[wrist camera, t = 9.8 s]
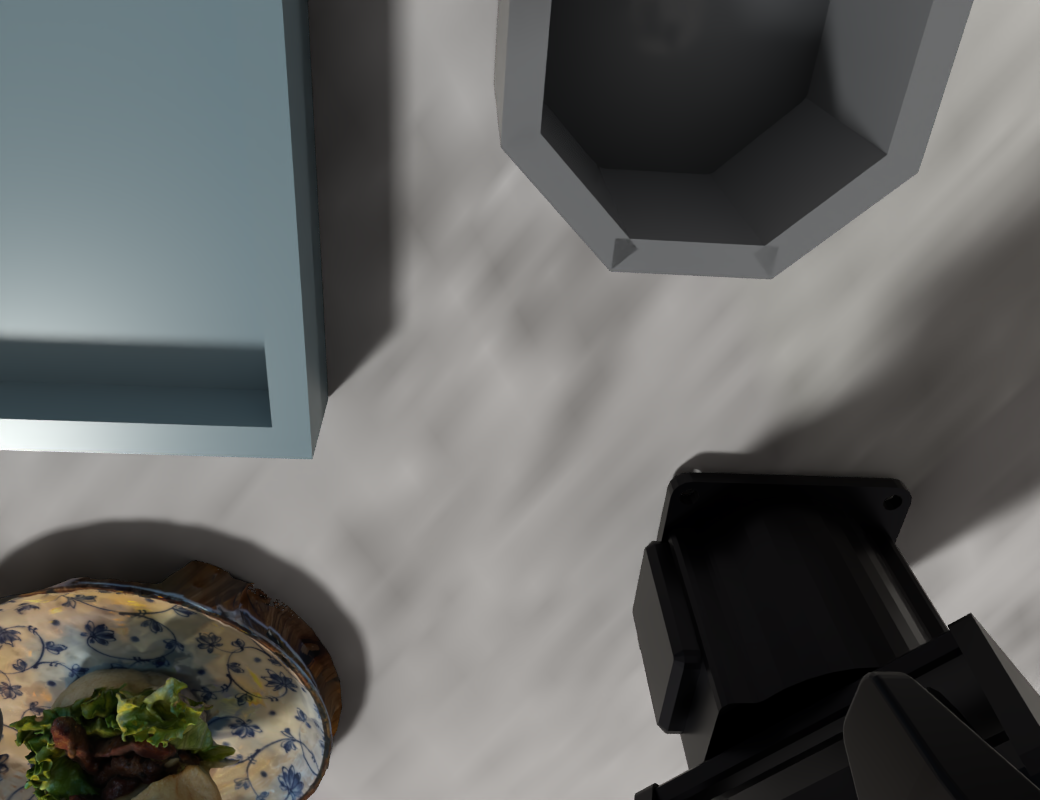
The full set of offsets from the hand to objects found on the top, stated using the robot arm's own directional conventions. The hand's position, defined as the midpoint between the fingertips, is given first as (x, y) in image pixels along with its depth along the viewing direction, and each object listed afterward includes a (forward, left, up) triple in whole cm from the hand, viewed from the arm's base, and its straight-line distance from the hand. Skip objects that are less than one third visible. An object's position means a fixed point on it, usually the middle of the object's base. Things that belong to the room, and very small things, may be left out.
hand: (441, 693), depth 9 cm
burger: (+9, +15, -12) cm, 22 cm away
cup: (-4, -5, -12) cm, 14 cm away
